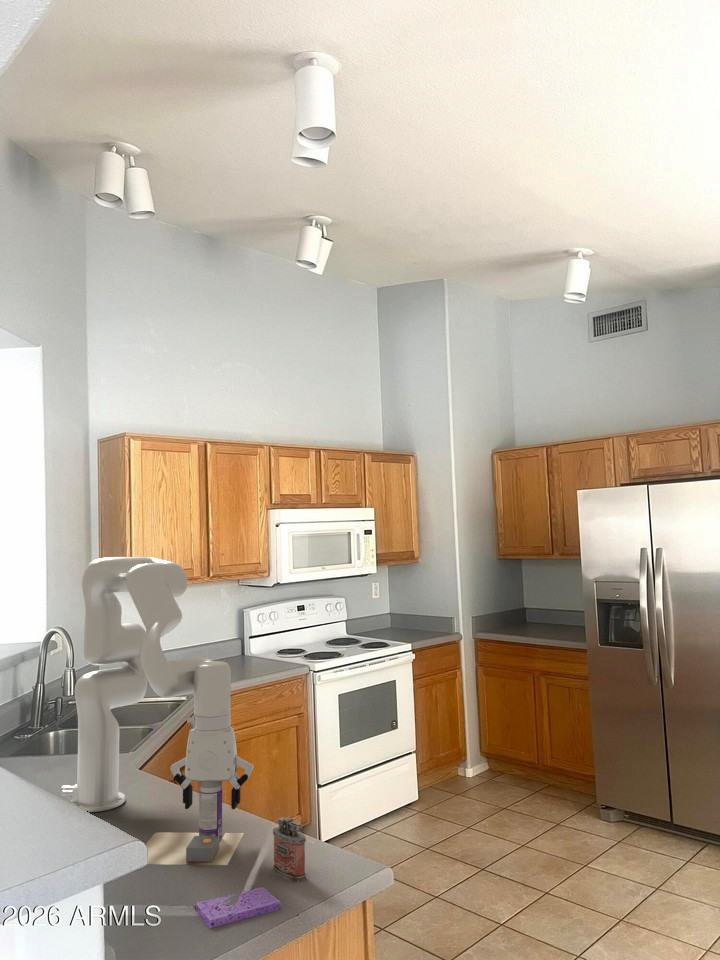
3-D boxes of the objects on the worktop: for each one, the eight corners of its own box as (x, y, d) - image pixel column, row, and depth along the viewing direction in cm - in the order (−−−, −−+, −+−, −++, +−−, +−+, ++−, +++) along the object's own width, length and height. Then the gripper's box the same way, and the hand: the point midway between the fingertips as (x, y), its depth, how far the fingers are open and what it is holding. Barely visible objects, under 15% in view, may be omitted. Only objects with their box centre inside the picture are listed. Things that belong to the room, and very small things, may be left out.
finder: (186, 861, 144) (186, 846, 144) (194, 849, 150) (194, 834, 150) (211, 861, 144) (211, 846, 144) (219, 849, 150) (219, 834, 150)
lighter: (268, 870, 143) (268, 816, 143) (282, 865, 145) (282, 811, 146) (295, 884, 137) (295, 827, 138) (310, 878, 139) (309, 822, 140)
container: (211, 833, 158) (212, 760, 160) (226, 839, 155) (227, 764, 157) (194, 840, 155) (194, 765, 156) (208, 846, 152) (209, 769, 153)
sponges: (195, 914, 127) (195, 902, 127) (264, 895, 134) (264, 884, 134) (209, 931, 121) (209, 919, 121) (280, 912, 127) (280, 900, 128)
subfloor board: (128, 870, 143) (128, 864, 144) (155, 838, 159) (155, 832, 159) (227, 871, 142) (227, 864, 143) (244, 838, 158) (244, 832, 159)
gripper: (165, 726, 154) (164, 813, 152) (249, 726, 153) (249, 813, 151) (176, 718, 161) (175, 800, 160) (256, 718, 160) (256, 801, 159)
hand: (211, 806), depth 155 cm, fingers open, 9 cm apart
